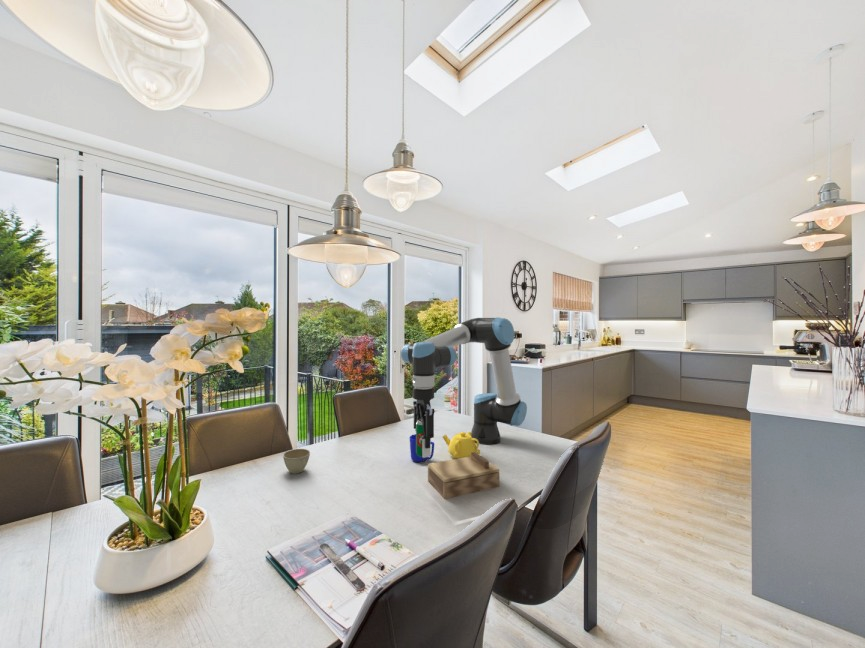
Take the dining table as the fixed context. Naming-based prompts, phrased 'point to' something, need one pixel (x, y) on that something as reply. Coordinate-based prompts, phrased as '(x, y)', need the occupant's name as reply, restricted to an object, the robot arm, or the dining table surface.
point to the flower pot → (296, 460)
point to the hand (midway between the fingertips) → (423, 453)
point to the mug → (413, 450)
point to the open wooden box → (463, 484)
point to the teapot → (462, 445)
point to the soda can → (419, 437)
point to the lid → (462, 468)
